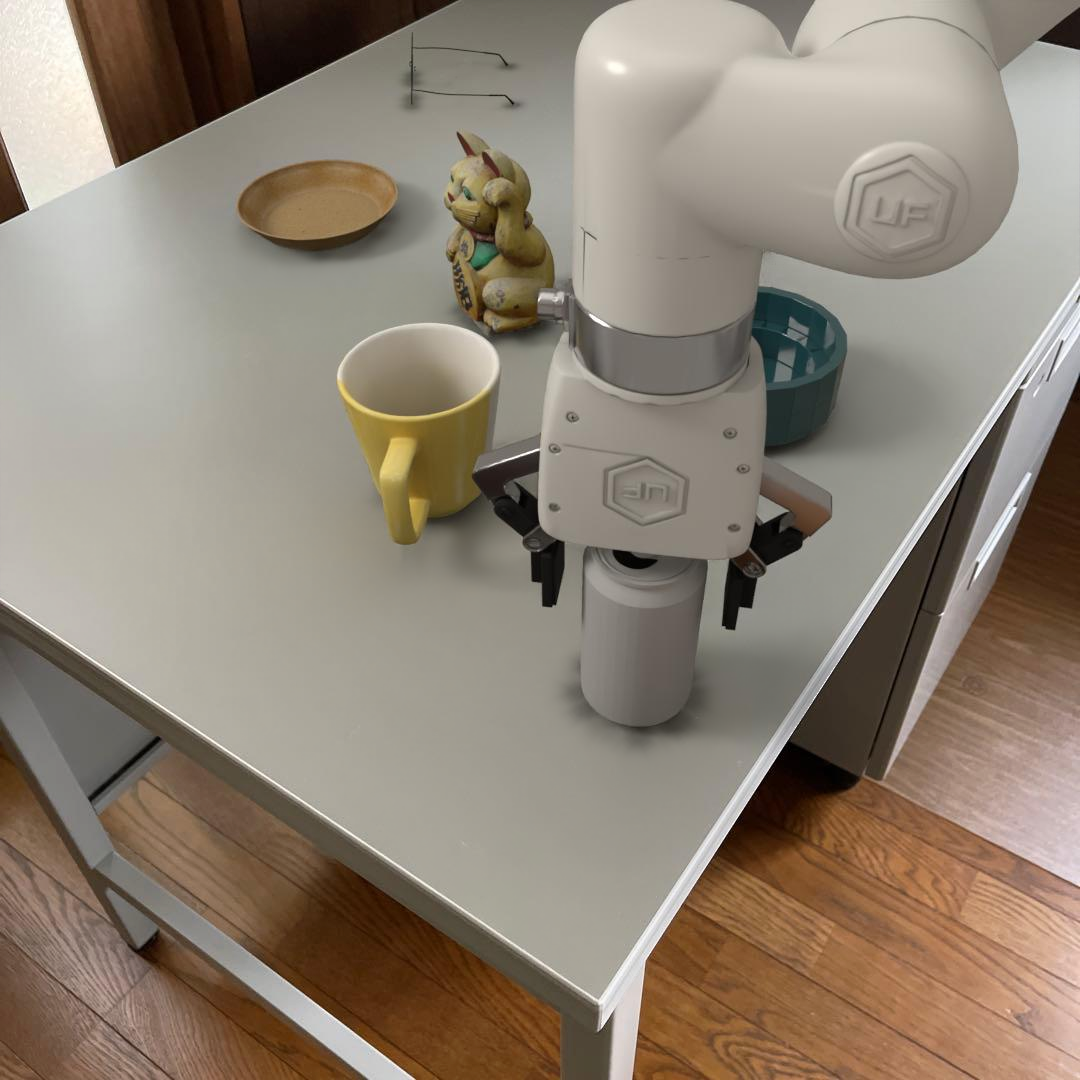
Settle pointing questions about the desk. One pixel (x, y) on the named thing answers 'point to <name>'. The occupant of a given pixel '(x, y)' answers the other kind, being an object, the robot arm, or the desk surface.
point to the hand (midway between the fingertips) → (640, 598)
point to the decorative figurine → (495, 241)
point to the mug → (422, 417)
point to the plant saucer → (317, 203)
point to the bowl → (797, 362)
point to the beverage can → (639, 633)
